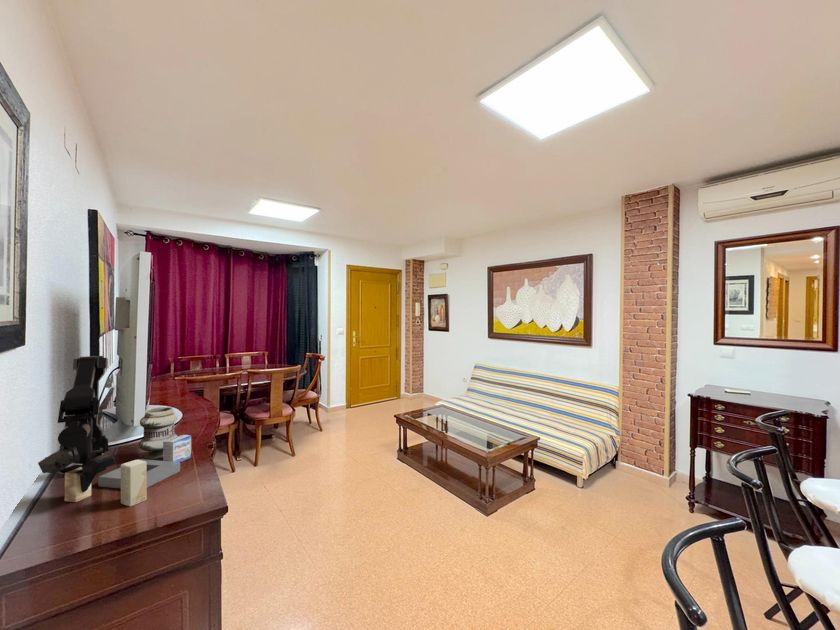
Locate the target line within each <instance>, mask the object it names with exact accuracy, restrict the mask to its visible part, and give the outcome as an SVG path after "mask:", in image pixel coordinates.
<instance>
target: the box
mask: <svg viewBox="0 0 840 630" xmlns="http://www.w3.org/2000/svg"><path fill="white" fill-rule="evenodd" d="M120 468H121V488H120V504H122V505H124V506H127V507H133V506H136V505H138V504H140V503H142V502H144V501H147V500H148V499H147V498H148V489H147V488H148V487H147V462H145V461H142V460H140V459H134V460H131V461H128V462H124V463H121V464H120Z"/></svg>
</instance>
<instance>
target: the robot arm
mask: <svg viewBox="0 0 840 630" xmlns="http://www.w3.org/2000/svg"><path fill="white" fill-rule="evenodd" d="M72 361H73V362H72V370H73V371H76V373H75V377H74V382H73V386H72V388H70V389H69V390H68V391H67V392H65V395H64V397H63V400H60V406H59V411H58V416H57V417H58V418H57V423H58V424H63V423H65V425H64V428H63V429H62V430H61V431H60V433H59V434H58V437H57V442H58V443H59V450H58V451H56V452H53V453H52V454H50V455H47V456H46V457H44V458H43V459H42V460H40V461H38V463H37V465H38V466H39V468H40V471H41V473H42V474H50V475H54V474H57V473H58V474H60V475H61V476H62V478H63V480H64V481H65V473H66V472H69V471H72V470H75V469H77V468H80V467H82V470H79V471H76V472H75V473H76V474H78V475H79V476H80V483H81V491H82V492H85V491H87V489H88V488H89V486H90V484H91V485H92V482H93V481H94V479H95V478H96V475H97V474H98V473H99V472H101V471H104V470H106V469H107V468H109V467H111V466H113V465H116V464H115V462H116V461H115V456H114V455H109V454H106V452H109V439H108V438H107V436H106V434H104V429H103V428H102V427H101V426H100V424H99V414H100V413H99V412H100V407H101V406H100V403H101V402H100V399H99V398H100V397H99V395H100V380H101V379H102V378H103V377H104V376H105V374H106V369H108V368H109V359H108V357H104V355H91V356H89V355H87V356H80V357H77V358H73V360H72Z"/></svg>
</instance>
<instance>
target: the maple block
mask: <svg viewBox="0 0 840 630" xmlns="http://www.w3.org/2000/svg"><path fill="white" fill-rule="evenodd" d="M79 470H82V467H80V468H77V469H75V470H72V471H69V472H66V473H65V480H64V502H72V503H77V502H79V501H81V500H84V499H86V498H89V497H91V496H92V483H91V484H90V486H89V488H88V489H87V491H85V492H82V491H81V483H80V476H79V475H78V474H76V473H75V472H76V471H79Z"/></svg>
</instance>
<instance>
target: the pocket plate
mask: <svg viewBox="0 0 840 630" xmlns="http://www.w3.org/2000/svg"><path fill="white" fill-rule="evenodd" d="M139 460H142V461H145V462H147V488H150V487H151V486H153V485H156V484H157V483H159V482H162V481H163V480H166V479H168V478H169V477H172V476H173V475H175V474H178V473H179V472H181V463H180V462H170V461H163V460H144V459H142V458H140V459H139ZM97 478H98V479H97V486H98V487H102V488H113V489H121V467H119V468H115V469H113V470H111V471H109V472H106V473H104V474H102V475H99V476H98V477H97Z"/></svg>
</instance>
